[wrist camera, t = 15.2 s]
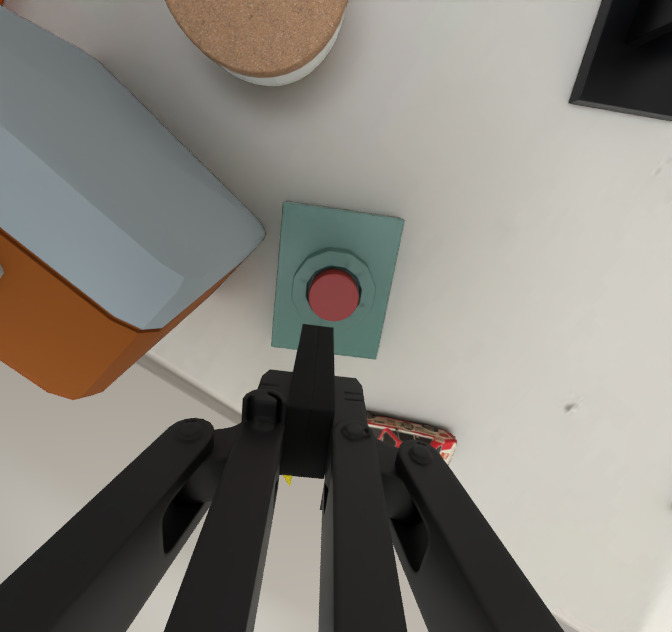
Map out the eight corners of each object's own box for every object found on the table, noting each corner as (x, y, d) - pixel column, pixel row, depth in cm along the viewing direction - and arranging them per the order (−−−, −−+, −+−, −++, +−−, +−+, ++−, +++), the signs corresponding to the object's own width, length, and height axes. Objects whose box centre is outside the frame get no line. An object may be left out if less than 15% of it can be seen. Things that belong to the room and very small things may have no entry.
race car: (428, 450, 42) (445, 483, 37) (335, 435, 38) (342, 469, 34) (446, 418, 40) (466, 448, 36) (350, 400, 37) (360, 431, 32)
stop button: (312, 265, 28) (311, 270, 27) (361, 272, 28) (362, 277, 27) (307, 311, 30) (305, 318, 28) (353, 317, 30) (354, 324, 28)
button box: (286, 200, 30) (280, 202, 26) (399, 217, 30) (409, 222, 27) (274, 337, 34) (267, 355, 31) (373, 349, 35) (378, 368, 31)
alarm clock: (30, 140, 28) (-634, 39, 9) (89, 50, 26) (-609, -343, 7) (209, 296, 33) (35, 453, 14) (272, 231, 31) (171, 306, 11)
